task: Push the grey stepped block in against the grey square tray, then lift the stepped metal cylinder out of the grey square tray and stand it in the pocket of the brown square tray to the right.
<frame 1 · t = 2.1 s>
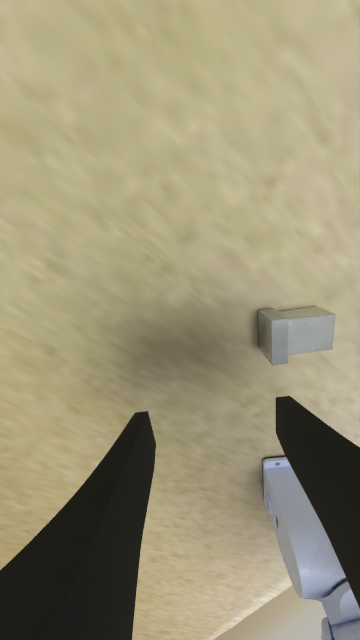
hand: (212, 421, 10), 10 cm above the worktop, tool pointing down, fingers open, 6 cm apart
grey stepped block: (295, 332, 17), point 2 cm above the worktop, slide at 0.0 cm
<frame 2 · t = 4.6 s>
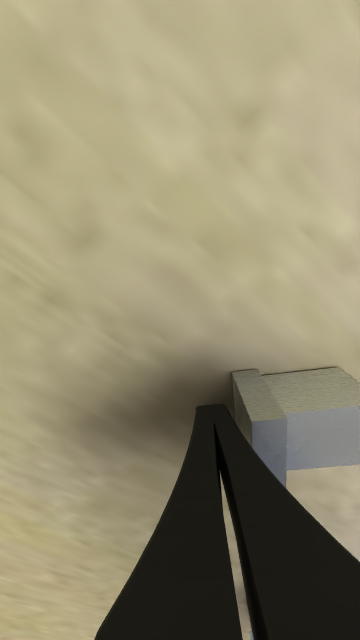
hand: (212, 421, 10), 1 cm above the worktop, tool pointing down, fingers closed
grey stepped block: (300, 422, 9), point 2 cm above the worktop, slide at 0.0 cm, touching gripper
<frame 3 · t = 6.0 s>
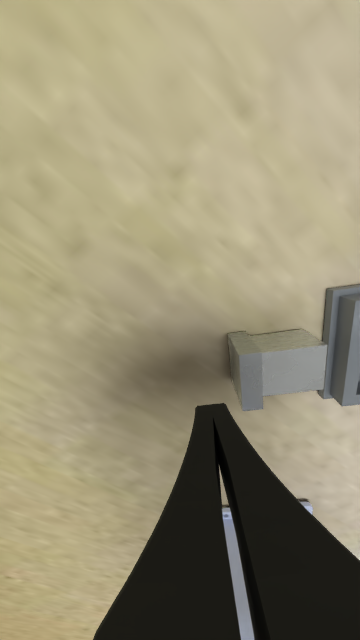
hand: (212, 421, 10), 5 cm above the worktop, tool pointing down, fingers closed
grey stepped block: (274, 365, 13), point 2 cm above the worktop, slide at 3.2 cm
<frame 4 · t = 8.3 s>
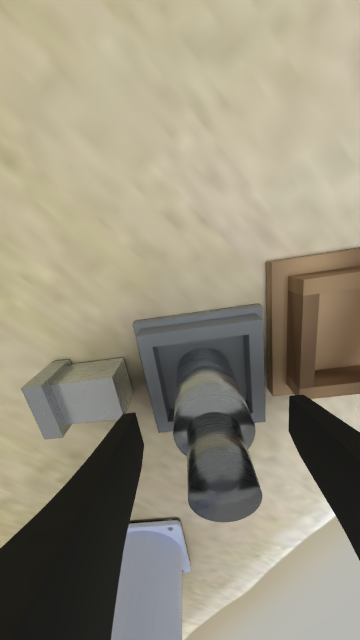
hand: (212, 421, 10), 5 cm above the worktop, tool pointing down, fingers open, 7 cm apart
stepped metal cylinder: (203, 371, 14), point 1 cm above the worktop, touching grey square tray
grey square tray: (202, 366, 14), on the worktop
grey stepped block: (85, 393, 13), point 2 cm above the worktop, slide at 3.2 cm
brown square tray: (338, 322, 13), on the worktop
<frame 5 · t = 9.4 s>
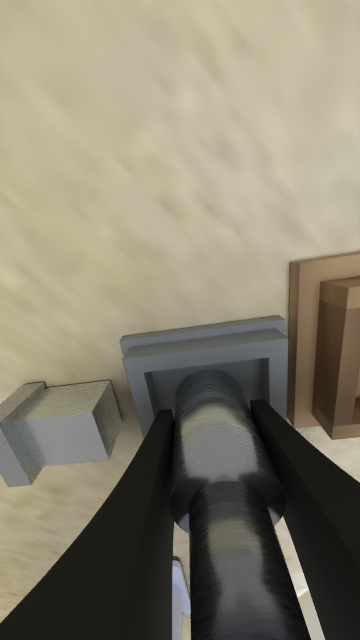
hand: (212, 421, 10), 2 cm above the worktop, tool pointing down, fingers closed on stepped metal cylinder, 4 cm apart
stepped metal cylinder: (208, 398, 11), point 1 cm above the worktop, touching gripper, grey square tray
grey square tray: (207, 391, 12), on the worktop
grey stepped block: (61, 427, 11), point 2 cm above the worktop, slide at 3.2 cm
when the fingers open (4 cm above the worktop, at t = 12.3 s): stepped metal cylinder stays where it is, resting on brown square tray.
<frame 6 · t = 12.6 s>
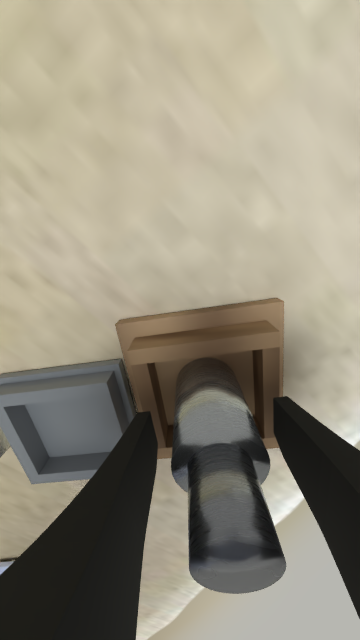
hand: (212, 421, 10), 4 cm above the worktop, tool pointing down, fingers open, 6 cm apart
stepped metal cylinder: (206, 384, 12), point 1 cm above the worktop, touching brown square tray
grey square tray: (79, 416, 14), on the worktop
brown square tray: (205, 376, 13), on the worktop
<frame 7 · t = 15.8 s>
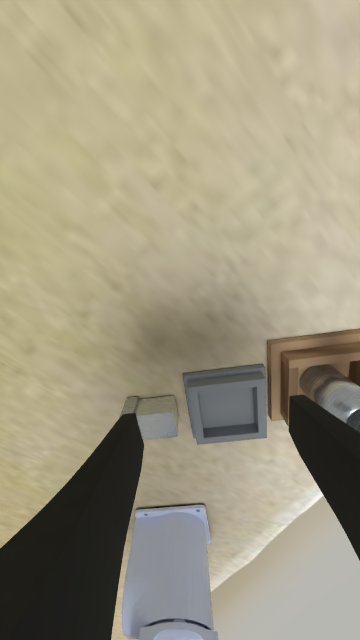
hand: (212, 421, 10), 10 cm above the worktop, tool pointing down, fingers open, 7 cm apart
stepped metal cylinder: (318, 380, 20), point 1 cm above the worktop, touching brown square tray
grey square tray: (225, 401, 22), on the worktop
grey stepped block: (151, 420, 21), point 2 cm above the worktop, slide at 3.2 cm
brown square tray: (313, 375, 21), on the worktop
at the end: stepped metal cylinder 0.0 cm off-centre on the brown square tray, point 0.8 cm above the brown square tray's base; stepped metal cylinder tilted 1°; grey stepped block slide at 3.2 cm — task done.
